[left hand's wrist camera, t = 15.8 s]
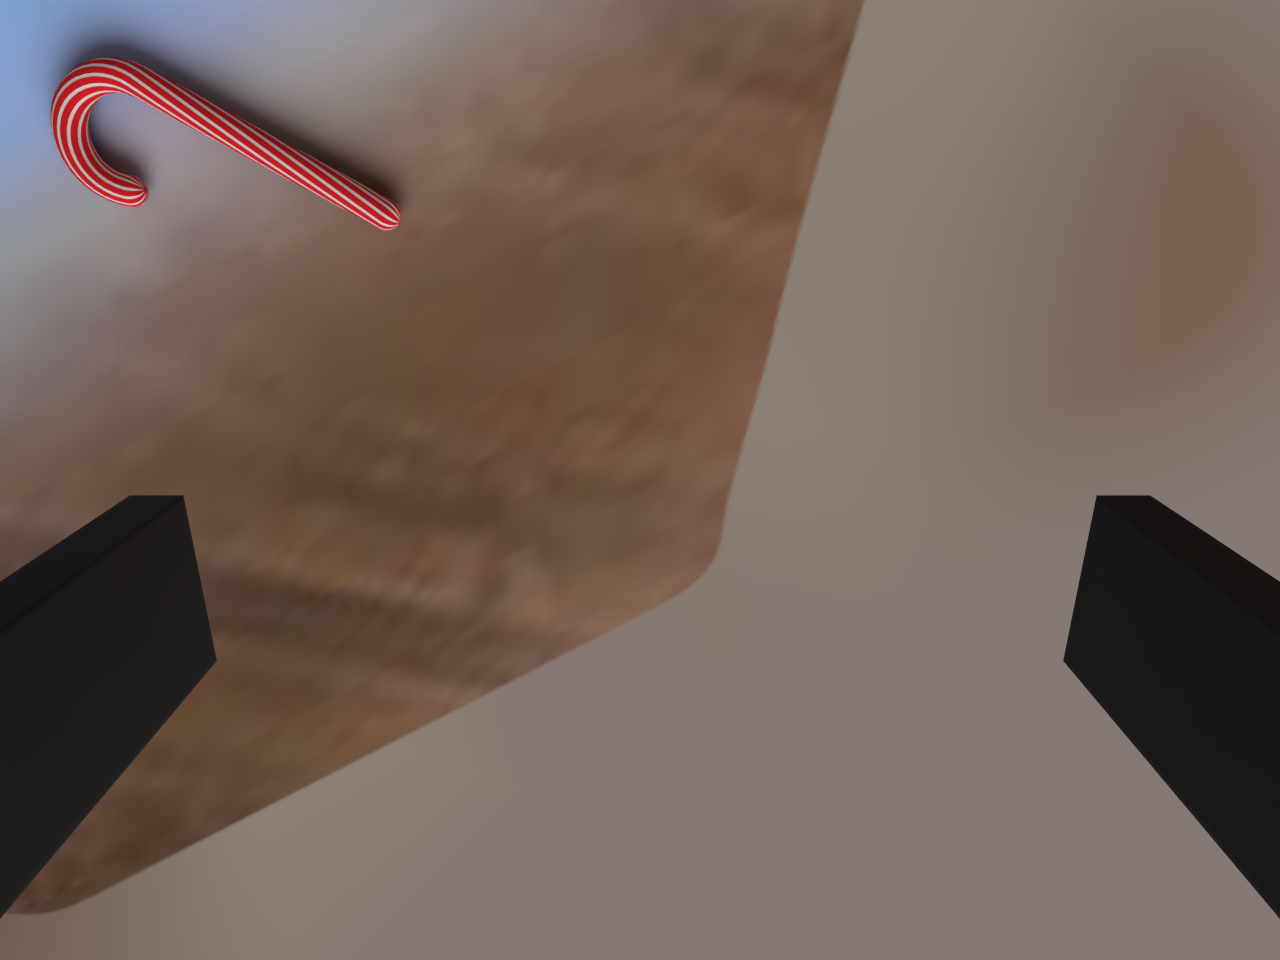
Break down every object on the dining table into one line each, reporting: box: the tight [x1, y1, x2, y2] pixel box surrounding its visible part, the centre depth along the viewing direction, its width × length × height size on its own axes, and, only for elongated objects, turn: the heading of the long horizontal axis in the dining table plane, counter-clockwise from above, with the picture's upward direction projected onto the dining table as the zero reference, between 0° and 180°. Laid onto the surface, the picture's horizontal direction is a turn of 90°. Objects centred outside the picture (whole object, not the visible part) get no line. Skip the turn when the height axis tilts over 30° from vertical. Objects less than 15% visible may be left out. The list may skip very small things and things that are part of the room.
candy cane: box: [51, 57, 402, 230], centre depth 38 cm, size 6×15×2 cm, turn 62°
